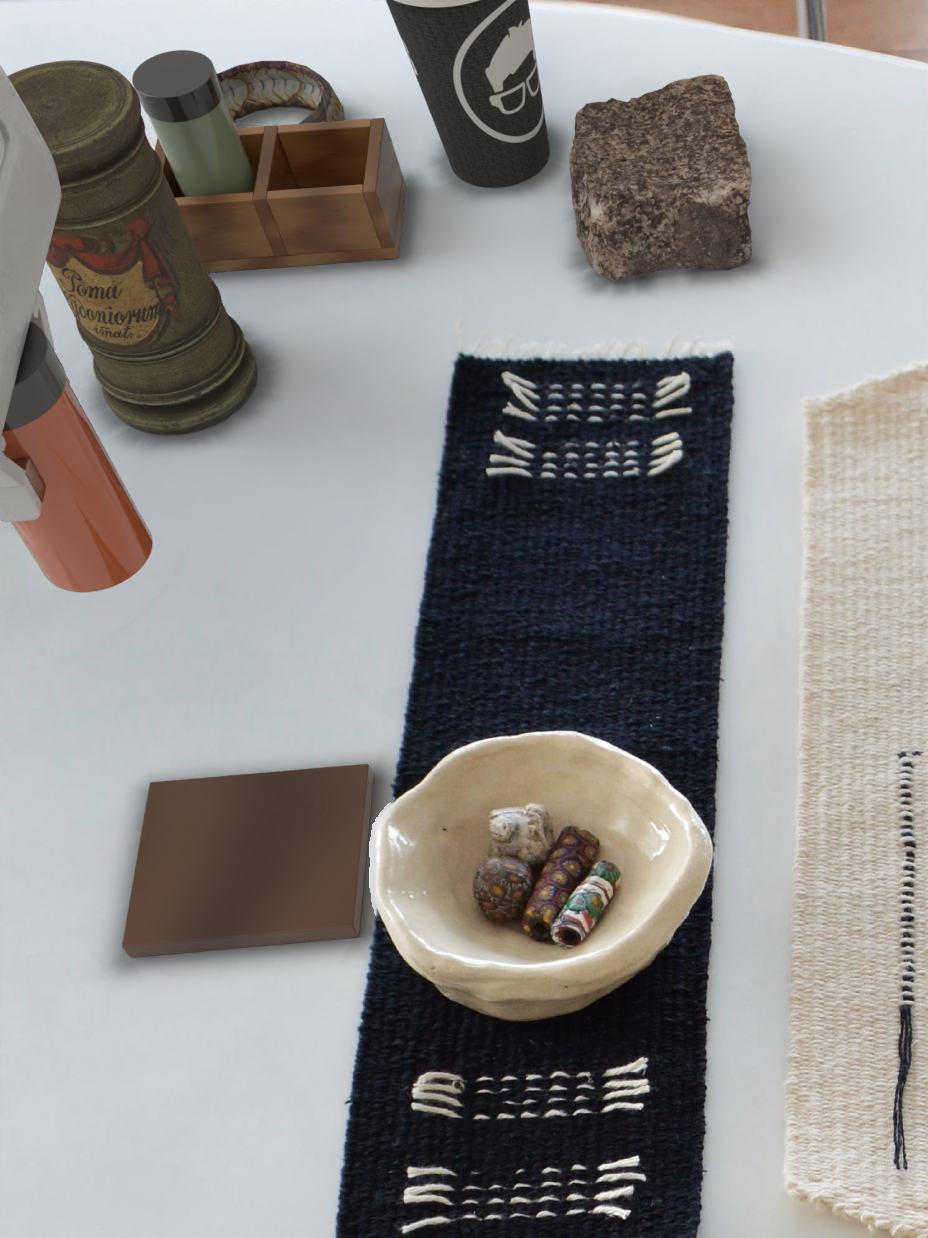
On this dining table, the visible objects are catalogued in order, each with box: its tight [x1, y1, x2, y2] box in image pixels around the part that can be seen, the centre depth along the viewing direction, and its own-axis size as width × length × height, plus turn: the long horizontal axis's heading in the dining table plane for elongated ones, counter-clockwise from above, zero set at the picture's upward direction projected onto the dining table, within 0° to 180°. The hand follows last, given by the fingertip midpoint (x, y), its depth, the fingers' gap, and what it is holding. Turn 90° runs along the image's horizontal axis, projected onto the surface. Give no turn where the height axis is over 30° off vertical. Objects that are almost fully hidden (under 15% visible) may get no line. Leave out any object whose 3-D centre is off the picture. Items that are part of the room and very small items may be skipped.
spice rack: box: [154, 117, 407, 274], centre depth 116 cm, size 14×7×5 cm, turn 96°
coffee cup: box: [385, 0, 551, 188], centre depth 115 cm, size 10×10×15 cm
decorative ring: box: [217, 60, 345, 124], centre depth 121 cm, size 10×3×10 cm
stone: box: [568, 73, 753, 281], centre depth 116 cm, size 11×13×6 cm
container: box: [7, 59, 258, 435], centre depth 103 cm, size 9×9×18 cm
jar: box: [131, 49, 256, 197], centre depth 113 cm, size 5×5×10 cm
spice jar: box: [2, 321, 154, 593], centre depth 72 cm, size 5×5×10 cm
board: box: [121, 763, 375, 958], centre depth 92 cm, size 11×10×1 cm
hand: (36, 455), depth 72 cm, fingers closed on spice jar, 4 cm apart
